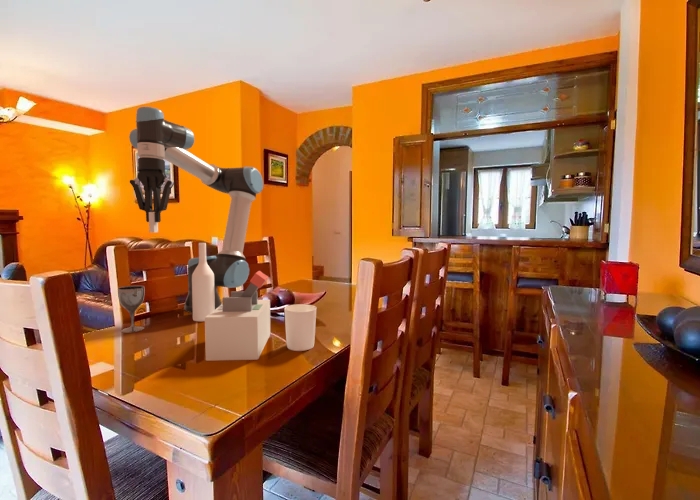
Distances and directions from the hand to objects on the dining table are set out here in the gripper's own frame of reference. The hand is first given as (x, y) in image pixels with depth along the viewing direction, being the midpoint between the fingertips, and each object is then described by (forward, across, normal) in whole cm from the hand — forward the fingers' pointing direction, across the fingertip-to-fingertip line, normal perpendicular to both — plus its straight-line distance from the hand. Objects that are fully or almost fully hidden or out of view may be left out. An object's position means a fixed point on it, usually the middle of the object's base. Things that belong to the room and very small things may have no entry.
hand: (153, 232), depth 111 cm
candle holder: (+35, +48, -12) cm, 60 cm away
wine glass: (+35, -12, +8) cm, 37 cm away
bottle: (+35, +8, +21) cm, 41 cm away
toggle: (+21, +30, -11) cm, 38 cm away
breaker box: (+34, +30, -11) cm, 47 cm away
